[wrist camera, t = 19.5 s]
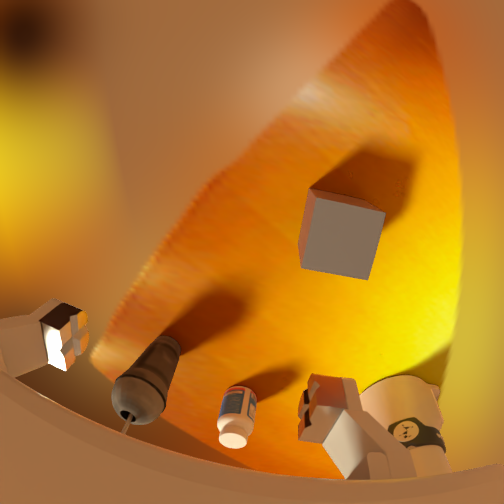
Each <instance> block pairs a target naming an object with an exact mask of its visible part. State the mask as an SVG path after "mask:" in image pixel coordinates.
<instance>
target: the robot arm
mask: <svg viewBox="0 0 504 504" xmlns="http://www.w3.org/2000/svg"><path fill="white" fill-rule="evenodd" d="M87 321H88V319H87V314H86V312H85V311H83V310H81V309H79V308H76V307H74V306H72V305H69V304H67V303H64V302H62V301H59V300H57V299H51V300H49V301H48V302H47V303H45V304H44V305H42V306H41V307H40V308H38V309H37V310H36V311H34V312H33V313H31V314H30V315H29V316H27V315H22V316H16V317H11V318H5V319H0V504H504V465H502V464H493V465H488V466H484V467H479V468H474V469H470V470H464V471H459V472H452V470H451V468H450V465H449V463H448V460H447V458H446V456H445V452H446V448H445V445H444V444H445V443H444V440H443V437H442V436H441V434H440V432H439V431H440V429H441V427H442V424H443V417H442V414H441V411H440V409H439V406H438V404H437V400H438V397H439V394H440V389H439V387H438V386H437V385H432V384H427V383H426V382H424V381H423V380H422V379H420V378H418V377H416V376H411V375H400V376H394V377H390V378H387V379H384V380H382V381H380V382H378V383H376V384H374V385H372V386H371V387H369V388H368V389H366V390H365V391H364V392H363V393H362V394H361V395H360V396H359V393H358V389H357V385H356V381H355V380H354V379H352V378H343V377H340V378H339V377H333V376H326V375H320V374H314V373H312V374H311V376H310V378H309V380H308V389H306V390H304V391H303V394H302V396H301V399H300V403H299V408H298V417H299V418H300V419H301V421H300V423H299V425H298V440H300V441H307V442H314V443H322V445H323V447H324V448H325V450H326V451H327V453H328V454H329V455H330V457H331V458H332V460H333V461H334V463H335V464H336V466H337V467H338V469H339V470H340V471H341V473H342V474H343V476H344V477H345V479H346V480H343V479H322V478H309V477H298V476H289V475H281V474H273V473H267V472H260V471H254V470H248V469H243V468H238V467H233V466H228V465H223V464H219V463H215V462H211V461H206V460H202V459H199V458H195V457H191V456H187V455H184V454H181V453H177V452H174V451H171V450H167V449H164V448H161V447H158V446H155V445H152V444H149V443H146V442H144V441H141V440H138V439H135V438H133V437H130V436H127V435H125V434H122V433H120V432H117V431H115V430H112V429H110V428H108V427H105V426H103V425H101V424H98V423H96V422H94V421H92V420H90V419H87V418H85V417H83V416H81V415H79V414H77V413H75V412H73V411H71V410H69V409H67V408H65V407H63V406H61V405H59V404H57V403H56V402H54V401H52V400H50V399H48V398H46V397H45V396H43V395H41V394H39V393H38V392H36V391H34V390H33V389H31V388H29V387H28V386H26V385H24V384H23V383H21V382H20V381H18V380H16V379H15V378H14V377H17V376H19V375H22V374H24V373H27V372H29V371H32V370H34V369H37V368H39V367H42V366H44V365H47V364H48V363H50V364H52V365H55V366H56V367H59V368H61V369H63V370H65V371H67V369H68V368H69V367H70V366H71V365H72V364H73V363H74V362H75V356H76V355H80V354H82V353H83V352H84V350H85V349H86V347H87V344H88V340H89V331H88V330H87V328H86V326H85V324H86V323H87Z"/></svg>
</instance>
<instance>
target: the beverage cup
mask: <svg viewBox="0 0 504 504" xmlns="http://www.w3.org/2000/svg"><path fill="white" fill-rule="evenodd" d="M180 353H181V348H180V345H179V344H178V342H177V341H176V340H175V339H173V338H171V337H169V336H159V337H157V338H156V339H155V340H154V341H153V342H152V343H151V344H150V345H149V346H148V347H147V349H146V350H145V351H144V352H143V353H142V354H141V356H140V357H139V358H138V359H137V360H136V361H135V362H134V364H133V365H132V366H131V367H130V368H129V369H128V370H127V371H125V372H124V373H123V374H122V375H121V376H119V377H118V378H117V379H116V381H115V384H114V387H113V391H112V403H113V407H114V409H115V411H116V412H117V414H118V415H119V416H120V417H121V418H122V419H124V420H125V421H126V423H125V425H124V428H123V430H122V432H121V433H122V434H125V433H126V431H127V429H128V427H129V424H130V423H132V424H136V425H142V424H148V423H150V422H152V421H154V420H155V419H156V418H158V417H159V416H160V414H161V413H162V412H163V411H164V409H165V407H166V401H167V393H168V390H169V387H170V384H171V381H172V378H173V375H174V372H175V369H176V366H177V364H178V361H179V356H180Z"/></svg>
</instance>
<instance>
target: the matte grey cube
mask: <svg viewBox="0 0 504 504" xmlns="http://www.w3.org/2000/svg"><path fill="white" fill-rule="evenodd" d="M385 215H386V213H385V212H384V211H382V210H380V209H379V208H377V207H375V206H374V205H372V204H370V203H369V202H367V201H365V200H363V199H358V198H354V197H350V196H345V195H341V194H336V193H331V192H327V191H322V190H317V189H312V188H309V191H308V196H307V201H306V206H305V211H304V216H303V221H302V226H301V231H300V236H299V241H298V248H299V255H300V263H301V268H304V269H309V270H314V271H320V272H325V273H331V274H336V275H342V276H347V277H353V278H358V279H364V280H368V278H369V274H370V271H371V268H372V264H373V261H374V257H375V254H376V250H377V246H378V243H379V239H380V235H381V231H382V227H383V223H384V219H385Z"/></svg>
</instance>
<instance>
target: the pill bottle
mask: <svg viewBox="0 0 504 504" xmlns="http://www.w3.org/2000/svg"><path fill="white" fill-rule="evenodd" d="M256 403H257V398H256V395H255V393H254V392H253V391H252V390H251V389H249V388H247V387H244V386H234V387H231V388H229V389H227V390H226V392H225V394H224V397H223V401H222V405H221V410H220V414H219V418H218V423H217V426H218V429H219V431H220V436H219V441H220V442H221V444H223V445H224V446H226V447H229V448H242V447H244V446H245V445H246V443H247V439H248V436H249V435H250V434H251V433H252V431H253V427H254V420H255V411H256Z"/></svg>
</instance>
